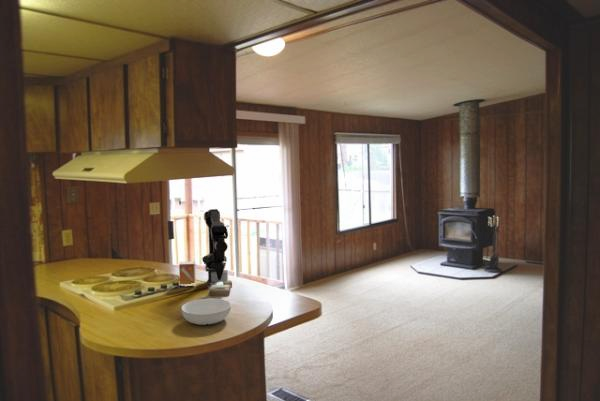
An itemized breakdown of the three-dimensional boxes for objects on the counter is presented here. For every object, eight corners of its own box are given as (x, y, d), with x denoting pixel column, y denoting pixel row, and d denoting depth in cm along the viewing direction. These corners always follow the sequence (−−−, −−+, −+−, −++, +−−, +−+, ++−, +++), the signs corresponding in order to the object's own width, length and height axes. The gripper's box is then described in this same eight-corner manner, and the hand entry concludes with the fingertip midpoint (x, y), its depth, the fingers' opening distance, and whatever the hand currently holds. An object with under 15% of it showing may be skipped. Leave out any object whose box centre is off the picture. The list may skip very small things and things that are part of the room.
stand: (211, 290, 245) (211, 285, 245) (230, 289, 246) (230, 284, 246) (209, 296, 236) (209, 290, 235) (229, 295, 236) (229, 289, 236)
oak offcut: (223, 286, 254) (223, 280, 254) (230, 285, 256) (230, 280, 255) (224, 288, 250) (224, 282, 250) (232, 287, 252) (232, 281, 252)
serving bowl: (173, 329, 190) (173, 312, 190) (192, 312, 211) (192, 297, 210) (223, 331, 187) (222, 314, 187) (237, 313, 208) (236, 298, 207)
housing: (212, 279, 243) (212, 269, 242) (227, 279, 243) (227, 269, 243) (211, 282, 238) (211, 272, 237) (227, 281, 238) (226, 271, 238)
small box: (179, 287, 252) (178, 264, 250) (181, 284, 258) (180, 261, 257) (194, 287, 253) (194, 263, 252) (195, 284, 259) (195, 261, 258)
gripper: (205, 245, 248) (206, 274, 249) (200, 253, 229) (201, 283, 230) (226, 245, 248) (227, 273, 250) (223, 252, 230) (224, 283, 231)
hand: (219, 278), depth 240 cm, fingers closed on housing, 5 cm apart
